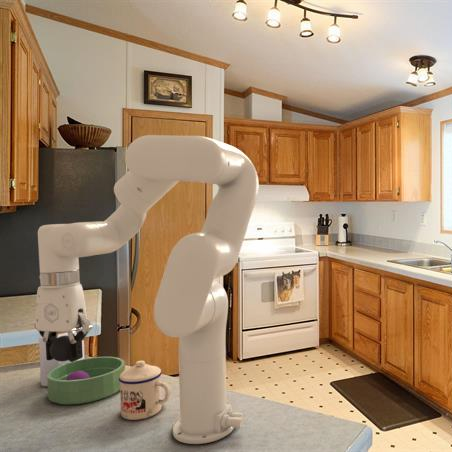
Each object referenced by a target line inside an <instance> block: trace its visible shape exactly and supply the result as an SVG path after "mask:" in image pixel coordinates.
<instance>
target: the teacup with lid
mask: <svg viewBox="0 0 452 452" xmlns="http://www.w3.org/2000/svg"><path fill="white" fill-rule="evenodd" d="M162 374H163V373H162V369H161V367H159V366H156V365H151V364H148V363H146V362H145V360H138V361H136V362H135V365H133V366H131V367H130V368H128V369H125V371H124V372H122V373H121V374H120V376H119V381H120V390H119V393H120V415H121V417H122V418H124V419H126V420H130V421H136V420H143V419H147V418H150V417H153V416H154V415H156V414H158V413H159V412H160V411H161V410H162V405H163V404H165V403H166V402H168V400H169V399H170V396H171V387H170V386H169V384H168V383H167V382H165V381H162ZM162 388H163V390H164V391H165V394H164V398H163V399H162Z"/></svg>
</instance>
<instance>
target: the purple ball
mask: <svg viewBox="0 0 452 452" xmlns="http://www.w3.org/2000/svg"><path fill="white" fill-rule="evenodd" d="M86 378H90V377H89V375H88V374H87V373H86V372H84V371H76V372H73V373H71V374H70V375H69V376H68V377H67V379H66V380H80V379H86Z"/></svg>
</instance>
